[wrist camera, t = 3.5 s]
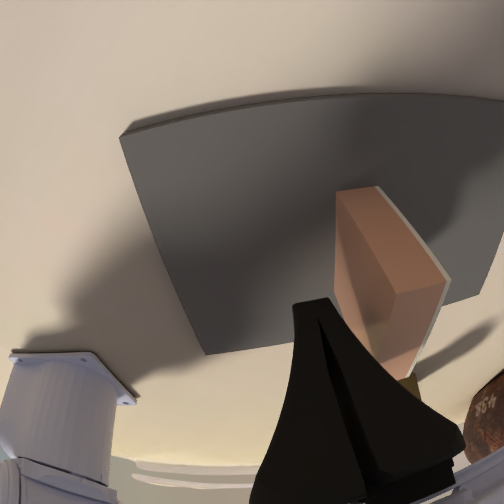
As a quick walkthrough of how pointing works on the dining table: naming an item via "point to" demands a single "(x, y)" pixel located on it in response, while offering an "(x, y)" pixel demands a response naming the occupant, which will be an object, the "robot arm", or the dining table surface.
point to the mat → (311, 199)
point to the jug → (485, 421)
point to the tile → (385, 279)
